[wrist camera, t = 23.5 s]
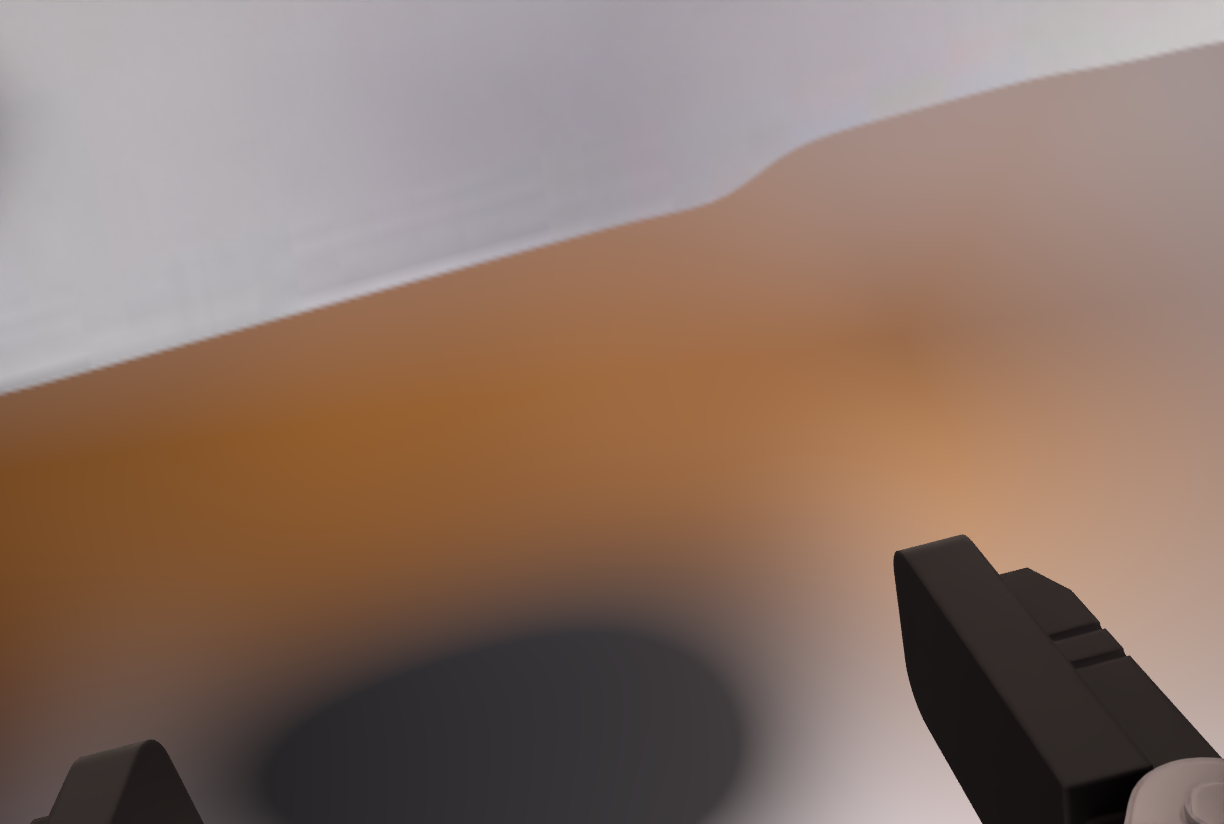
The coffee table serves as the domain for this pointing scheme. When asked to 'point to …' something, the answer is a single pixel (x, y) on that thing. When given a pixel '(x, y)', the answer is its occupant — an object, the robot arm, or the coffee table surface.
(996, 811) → the robot arm
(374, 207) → the coffee table surface
